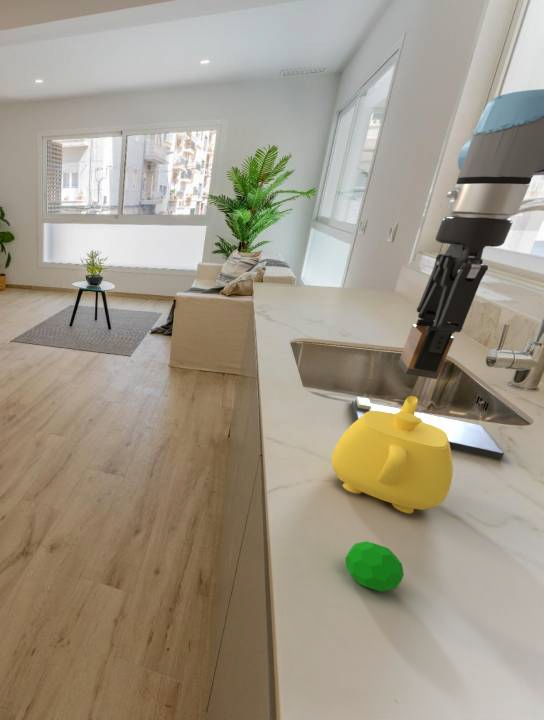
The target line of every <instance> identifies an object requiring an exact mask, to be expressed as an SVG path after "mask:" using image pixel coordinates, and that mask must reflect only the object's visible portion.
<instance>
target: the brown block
mask: <svg viewBox="0 0 544 720" xmlns="http://www.w3.org/2000/svg"><path fill="white" fill-rule="evenodd" d="M427 332H428V330H426V326H420V325H416V324H412V325H411V328H410V330H409V333H408V335H407V338H406V340H405V344H404V345H403V346H404V347H403V349H402V352H401V354H400V357H399V360H398V364H399V367H400V368H401V369H402V370H403V372H404V373H405V374H406V375H409V376H415V377H422V378H426V379H433V380H438V377H439V375H440V373H441V371H442V368H443V366H444V364H445V362H446V359H447V357H448V354H449V351H450V350H451V347H452V345H453V342H454V340H455V337H454V336H453V335H452V336H451V338H450V341H449V343H448V345H447V348H446V350H445V352H444V355H443V357H442V360H441V362H440V364H439V367H438V369H437V372H432V371H426V370H420V369H415V368H414V365H415V363H416V360H417V358H418V355H419V353H420V350H421V348H422V345H423V343H424V340H425V337H426V335H427Z"/></svg>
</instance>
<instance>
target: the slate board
mask: <svg viewBox="0 0 544 720" xmlns="http://www.w3.org/2000/svg"><path fill="white" fill-rule="evenodd" d="M370 404H371V409H370V410H368V409H363V408H358V405H357V401H356V399H352V401H351V404H350V406H351V410H352V414H353V418H354V422H355V421H357V420H358V419H359V418H360V417H361V416H362V415H364V414H365V413H366V412H368V411H372V410H374V411H383V412H388V413H393V414H395V413H397V412H399V411H400V410H401V408H398V407H397V408H396V407H392V406H386V405H382V404H377V403H372V402H370ZM415 416H417V417H418V418H419V417H424V418H429V419H433V420H434V422H435V423H436V425H437V426H438V428H440V429H442V430H443V431H444V432H445V433H446V434H447V436H448V440H449V444H450V449H451V450H454V451H459V452H463V453H468V454H472V455H476V456H481V457H485V458H490V459H494V460H498V461H502V458H503V457H504V452H503V451H502V450H501V448H500V447H499V446H498V445H497V443H496V442H495V441H494V440H493V439H492V437H491V435H489V434H488V432H487V431H486V430H485V429H484V427H483V426H482V425H480V424H476V423H471V422H467V421H462V420H456V419H451V418H446V417H441V416H436V415H433V414H432V415H431V414H427V413H421V412H416V411H415Z"/></svg>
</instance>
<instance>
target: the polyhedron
mask: <svg viewBox="0 0 544 720" xmlns="http://www.w3.org/2000/svg"><path fill="white" fill-rule="evenodd" d="M344 560H345V566H346V569H347V571H348V572H349V574H350V576H351V577H352V578H353V580H355V582H357V583H358V584H359V585H361V586H364V587H366V588H368V589H372V590H374V591H377V592H387V591H392V590H394V589H396V588H397V587H398V586H399V585H400V583H401V582H402V581H403V578H404V575H405V574H404V567H403V563H402V562H401V560H400V559H399V558H398V556H396V554H395V553H394V552H393V551H392V550H391V549H390V548H389V547H387V546H383V545H380V544H377V543H374V542H370V541H367V540H365V541H360V542H357V543H354V545H353V546H352V547H351V548H350V549H349V551H348V552H347V554H346V556H345V558H344Z"/></svg>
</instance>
